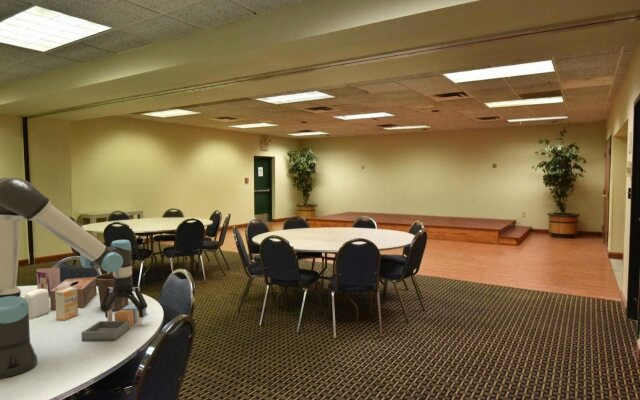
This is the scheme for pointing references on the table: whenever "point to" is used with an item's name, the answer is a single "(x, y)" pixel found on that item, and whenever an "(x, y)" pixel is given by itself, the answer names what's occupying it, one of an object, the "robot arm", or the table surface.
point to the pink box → (48, 278)
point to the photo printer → (38, 302)
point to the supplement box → (66, 303)
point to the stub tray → (106, 331)
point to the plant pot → (106, 282)
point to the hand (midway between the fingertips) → (124, 324)
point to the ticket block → (133, 307)
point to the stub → (125, 316)
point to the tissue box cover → (84, 290)
